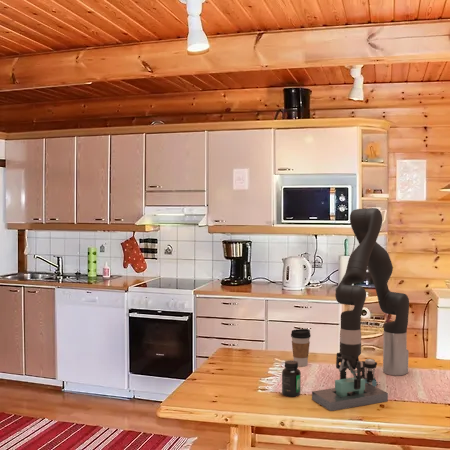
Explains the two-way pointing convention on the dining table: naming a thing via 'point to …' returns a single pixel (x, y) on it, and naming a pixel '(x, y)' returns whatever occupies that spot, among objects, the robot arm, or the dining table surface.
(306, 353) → the coffee cup
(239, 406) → the dining table surface
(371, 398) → the grey slotted board
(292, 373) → the supplement bottle
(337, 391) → the mint green notched block
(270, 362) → the dining table surface
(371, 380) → the push button
